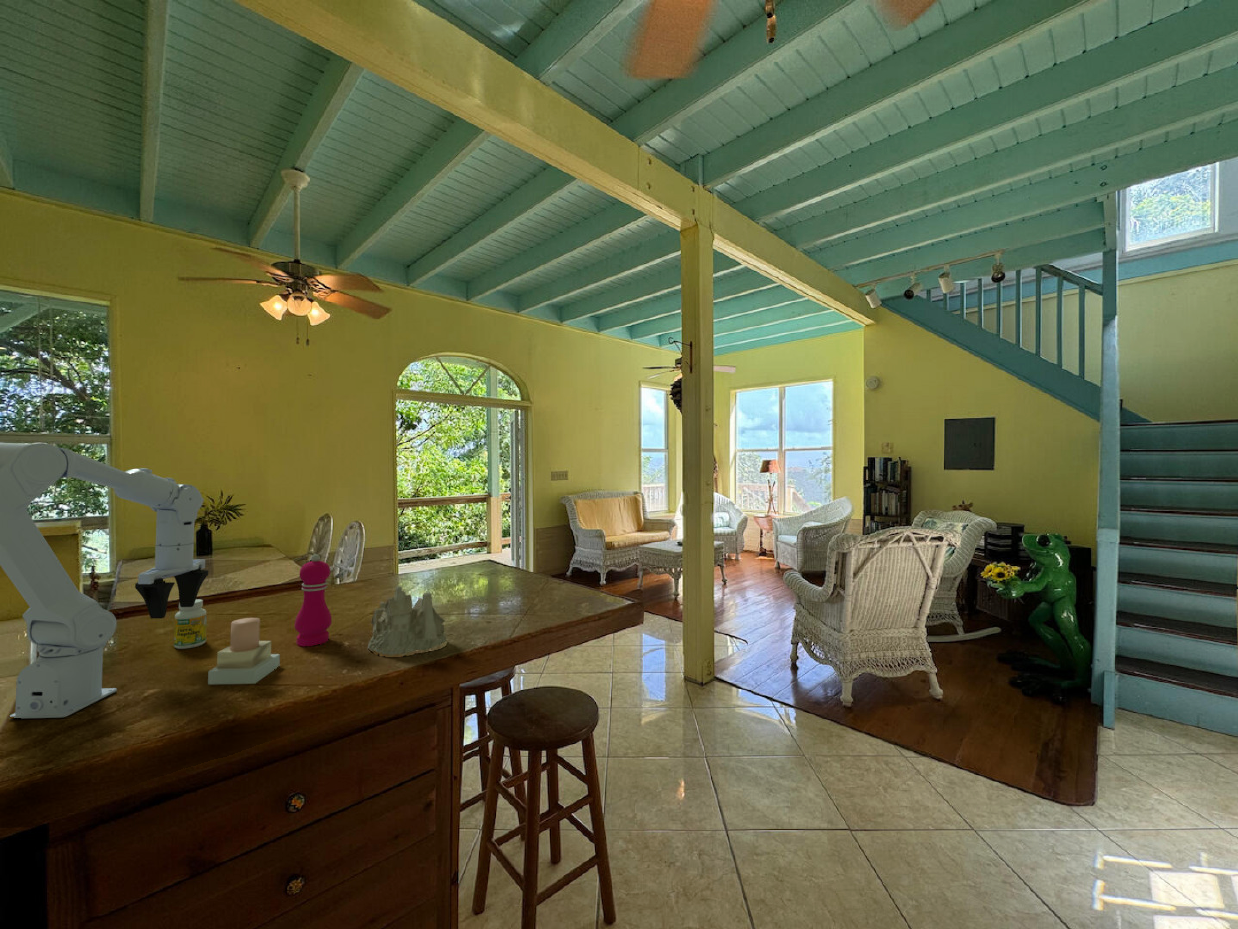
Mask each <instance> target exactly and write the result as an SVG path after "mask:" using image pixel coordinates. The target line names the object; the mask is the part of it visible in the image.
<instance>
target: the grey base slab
mask: <svg viewBox="0 0 1238 929" xmlns="http://www.w3.org/2000/svg"><path fill="white" fill-rule="evenodd" d="M280 658H281V654H279V653H271V656H270V657H268V658H267V659H265V660H264V661H262V662H260V663H259V664H257V665H256V666H254V667H252V668H217V666H214V668H212V669H210V670H208V675H207V677H208V679H207V685H245V684H246V685H247V684H252V685H253V684H254V685H255V684H256V683H258V682H259V681H261V680H262V679H263V678H265V677H266V676H268V675H270V674H271V673H272V672H273V671H275V670H276V669H277V667H278V666H279V667H280V663H281V662H280V660H281V659H280ZM279 667H278V668H279ZM274 669H275V670H274Z"/></svg>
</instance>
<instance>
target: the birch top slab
mask: <svg viewBox="0 0 1238 929" xmlns="http://www.w3.org/2000/svg"><path fill="white" fill-rule="evenodd" d="M271 654H272V640H259V646H258V647H257V648H255V649H252V650H248V651H241V652H234V651H231V650H230V645H229V646H226V647H225V648H223V649H221V650H219V651H217V655H216V667H217V668H252V667H254V666H256V665H257V664H259V663H260V662H262V661H264V660H265V659H267V658H268V657H270V656H271Z"/></svg>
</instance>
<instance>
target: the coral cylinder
mask: <svg viewBox="0 0 1238 929" xmlns="http://www.w3.org/2000/svg"><path fill="white" fill-rule="evenodd" d="M260 624H261V619H260V618H259V617H244V618H239V619H236V620H232V621H231V623H230V645H229V646H230V650H231V651H234V652H241V651H248V650H252V649H255V648H257V647H258V646H259V641H260V631H261V630H260V629H261V626H260Z"/></svg>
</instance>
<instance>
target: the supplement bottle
mask: <svg viewBox="0 0 1238 929" xmlns="http://www.w3.org/2000/svg"><path fill="white" fill-rule="evenodd" d="M203 605H204V600H203V599H197V598H196V600H195V603H194V606H193V607H180V603H179V602H178V609H179V611H177V612H176V613H175V615H174V627H173V628H174V631H173V632H174V634H173V635H174V636H173V647H174V648H175V649H178V650H180V649H181V650H182V649H183V650H184V649H192V648H196V647H200V646H202V645H203V644H206V641H207V610H206V609H204V608H202V607H203Z"/></svg>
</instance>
